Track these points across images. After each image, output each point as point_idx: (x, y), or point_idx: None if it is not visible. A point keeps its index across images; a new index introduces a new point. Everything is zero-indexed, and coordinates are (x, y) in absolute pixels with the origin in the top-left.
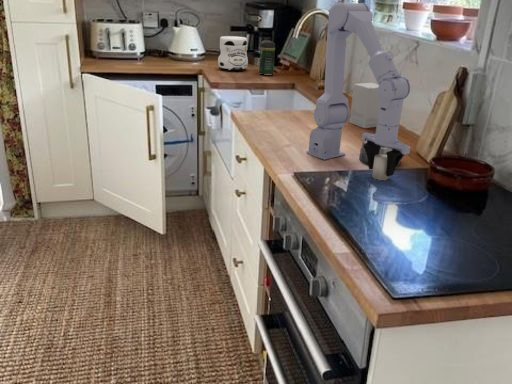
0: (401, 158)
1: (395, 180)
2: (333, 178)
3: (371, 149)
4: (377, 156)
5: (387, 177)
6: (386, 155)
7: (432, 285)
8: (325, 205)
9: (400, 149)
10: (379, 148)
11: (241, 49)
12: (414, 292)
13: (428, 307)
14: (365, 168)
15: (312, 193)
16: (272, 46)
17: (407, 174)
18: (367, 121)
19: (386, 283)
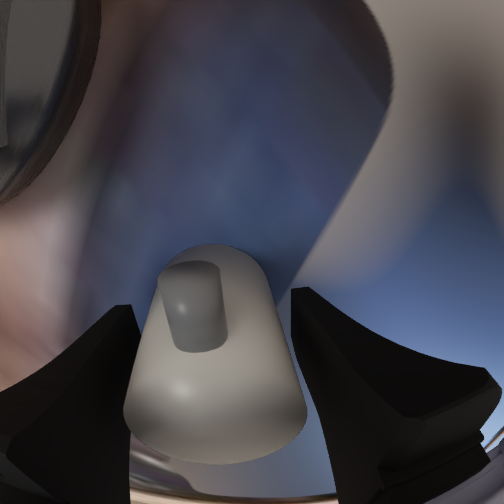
0: (426, 361)
1: (308, 238)
2: (145, 447)
3: (120, 499)
4: (180, 447)
5: (269, 287)
6: (186, 378)
7: (498, 431)
8: (300, 497)
9: (468, 495)
10: (57, 424)
11: None
12: (483, 447)
13: (493, 442)
14: (44, 262)
15: (230, 500)
16: None
17: (271, 50)
18: None
19: None
